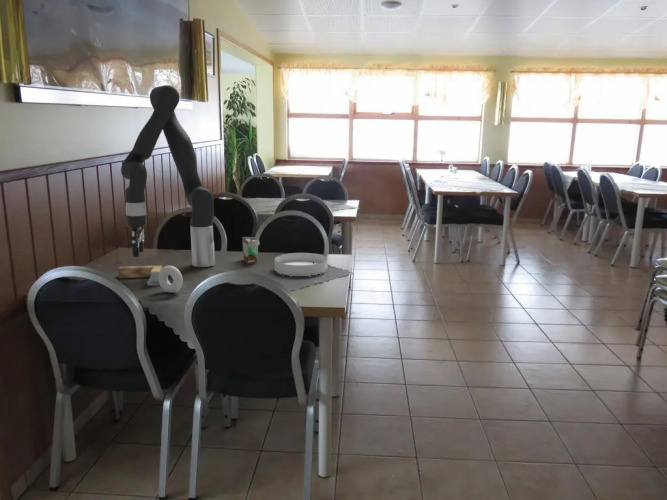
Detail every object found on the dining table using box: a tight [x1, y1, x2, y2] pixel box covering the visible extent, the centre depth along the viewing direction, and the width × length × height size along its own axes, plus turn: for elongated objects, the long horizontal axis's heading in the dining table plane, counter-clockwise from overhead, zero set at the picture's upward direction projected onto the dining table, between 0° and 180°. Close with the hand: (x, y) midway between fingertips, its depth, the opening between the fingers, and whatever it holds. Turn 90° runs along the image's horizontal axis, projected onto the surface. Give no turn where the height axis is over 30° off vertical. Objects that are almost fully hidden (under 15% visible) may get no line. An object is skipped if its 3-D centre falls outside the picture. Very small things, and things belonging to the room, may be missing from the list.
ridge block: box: [146, 265, 163, 286], centre depth 210 cm, size 6×8×6 cm
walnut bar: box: [118, 264, 163, 279], centre depth 219 cm, size 16×4×4 cm, turn 98°
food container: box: [241, 236, 260, 265], centre depth 243 cm, size 12×6×10 cm, turn 22°
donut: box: [158, 265, 184, 294], centre depth 197 cm, size 10×3×10 cm, turn 66°
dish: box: [274, 252, 328, 275], centre depth 230 cm, size 22×22×5 cm
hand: (138, 254), depth 217 cm, fingers open, 8 cm apart
